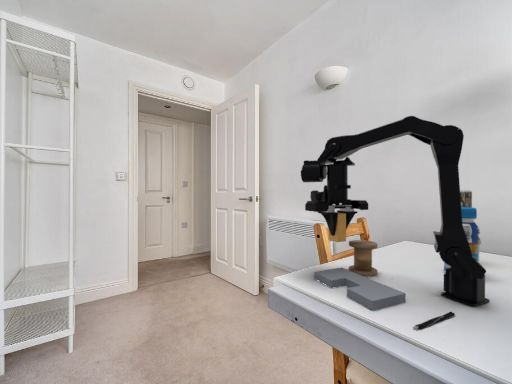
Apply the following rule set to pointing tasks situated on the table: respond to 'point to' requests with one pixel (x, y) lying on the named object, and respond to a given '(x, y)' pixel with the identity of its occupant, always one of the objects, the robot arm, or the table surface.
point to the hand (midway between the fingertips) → (337, 235)
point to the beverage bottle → (470, 231)
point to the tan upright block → (339, 229)
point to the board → (361, 288)
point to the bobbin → (363, 258)
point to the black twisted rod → (433, 321)
